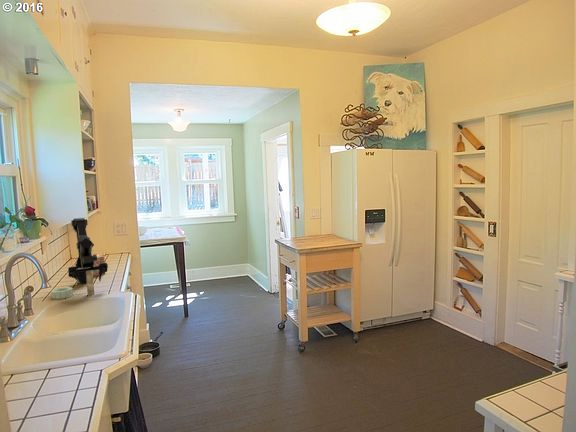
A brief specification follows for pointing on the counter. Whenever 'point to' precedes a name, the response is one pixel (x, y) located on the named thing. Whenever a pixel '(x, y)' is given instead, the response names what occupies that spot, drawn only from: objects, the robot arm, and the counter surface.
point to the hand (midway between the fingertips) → (90, 282)
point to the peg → (90, 282)
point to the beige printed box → (96, 263)
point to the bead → (62, 292)
